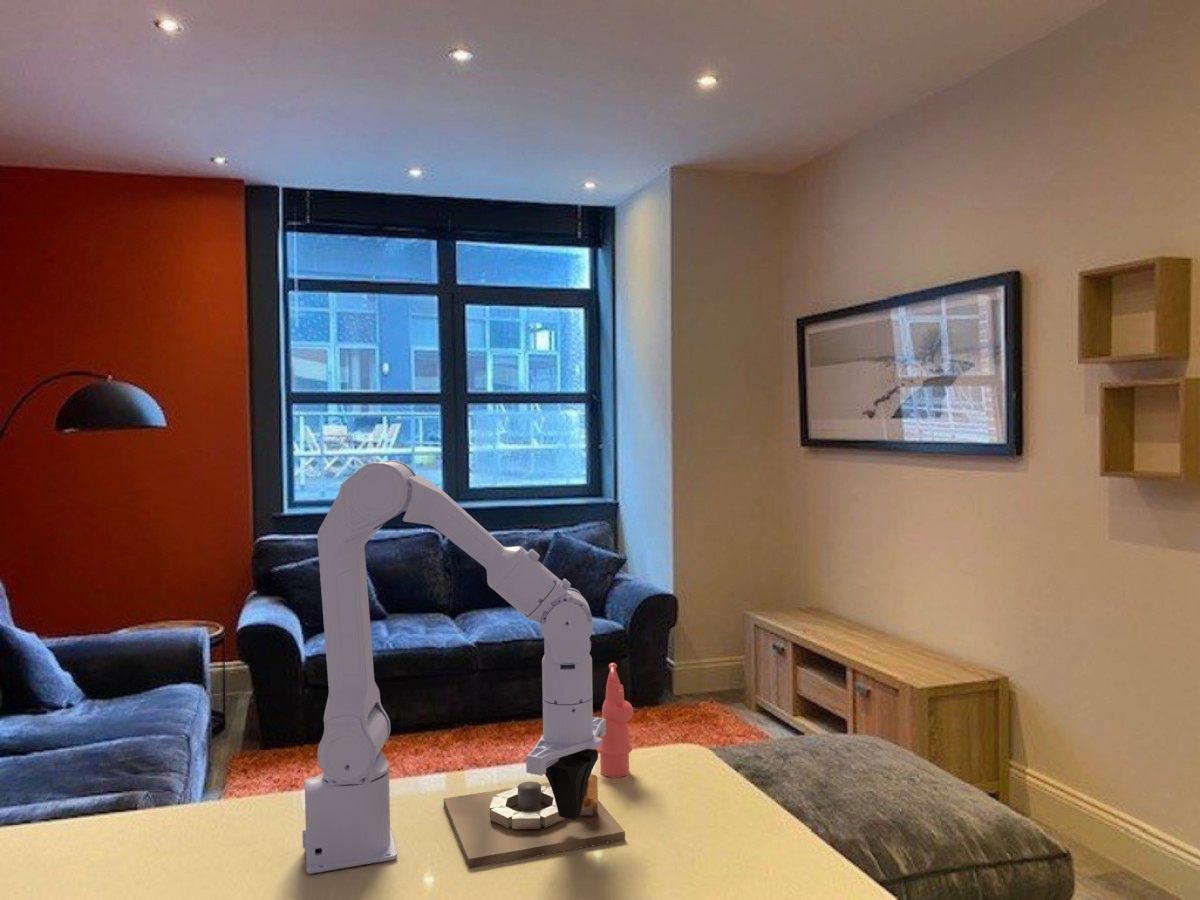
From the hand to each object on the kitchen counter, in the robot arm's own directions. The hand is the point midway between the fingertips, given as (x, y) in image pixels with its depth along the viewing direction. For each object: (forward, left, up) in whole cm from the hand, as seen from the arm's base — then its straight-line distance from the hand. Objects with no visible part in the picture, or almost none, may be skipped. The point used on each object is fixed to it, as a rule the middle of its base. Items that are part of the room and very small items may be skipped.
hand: (569, 816), depth 100 cm
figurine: (+12, +17, -3) cm, 21 cm away
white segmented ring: (-1, +6, -2) cm, 6 cm away
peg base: (-3, +6, -3) cm, 8 cm away
